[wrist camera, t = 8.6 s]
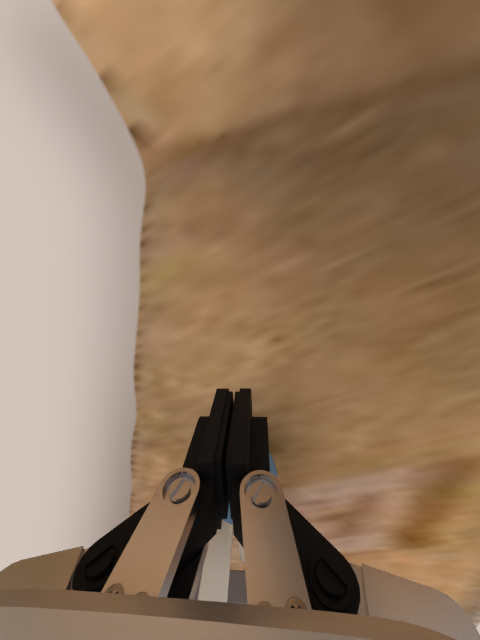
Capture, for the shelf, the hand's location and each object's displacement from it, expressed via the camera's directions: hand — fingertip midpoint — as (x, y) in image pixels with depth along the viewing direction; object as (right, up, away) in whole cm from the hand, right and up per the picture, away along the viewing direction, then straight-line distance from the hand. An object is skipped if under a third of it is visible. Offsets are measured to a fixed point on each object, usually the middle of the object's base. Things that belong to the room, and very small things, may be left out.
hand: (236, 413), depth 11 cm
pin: (-1, -14, +12) cm, 19 cm away
